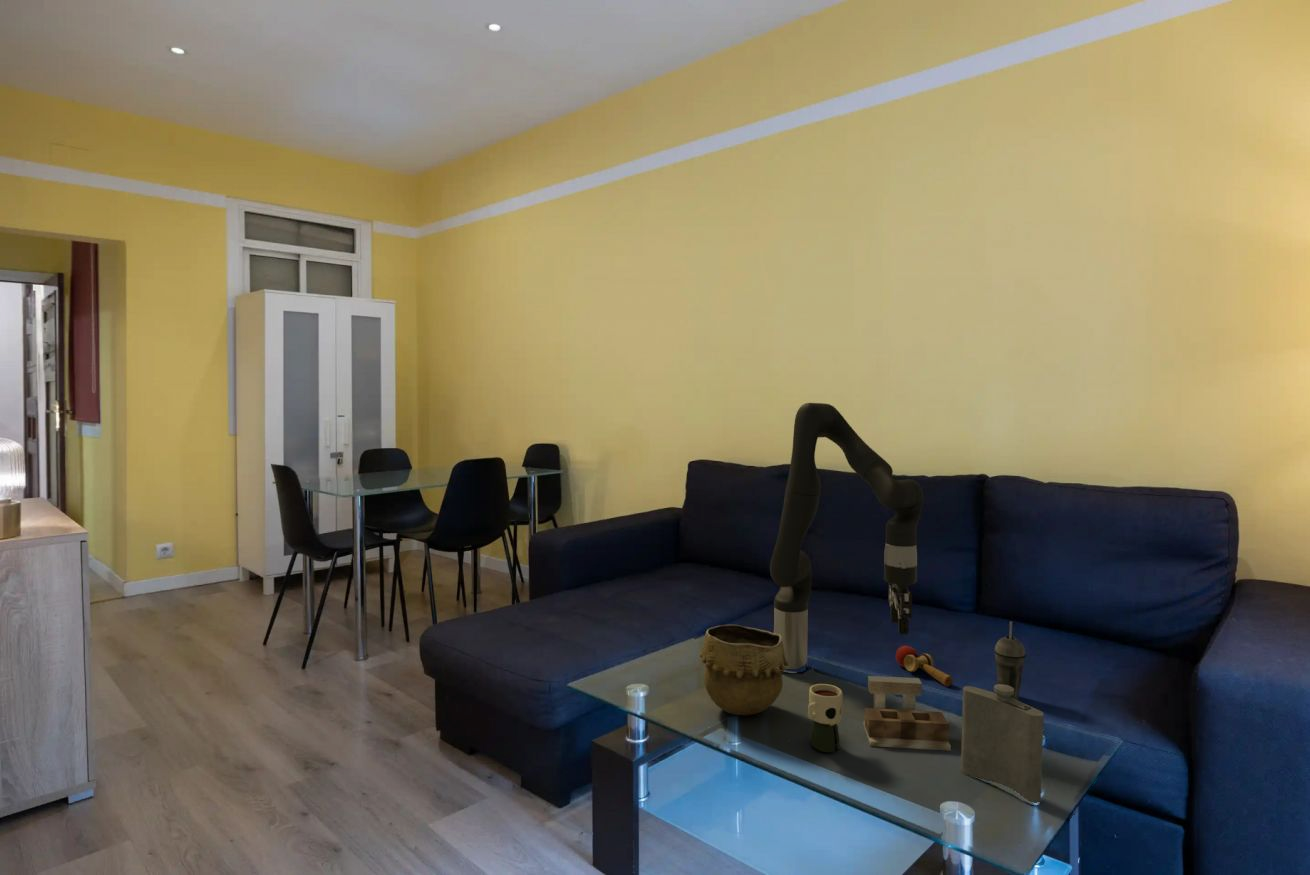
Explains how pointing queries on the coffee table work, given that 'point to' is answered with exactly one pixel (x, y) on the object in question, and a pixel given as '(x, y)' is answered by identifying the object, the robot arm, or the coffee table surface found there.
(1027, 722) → the hip flask
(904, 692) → the clip
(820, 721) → the character mug
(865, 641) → the coffee table surface
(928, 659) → the kendama
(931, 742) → the brown wooden block
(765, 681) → the clay pot
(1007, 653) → the beverage cup
